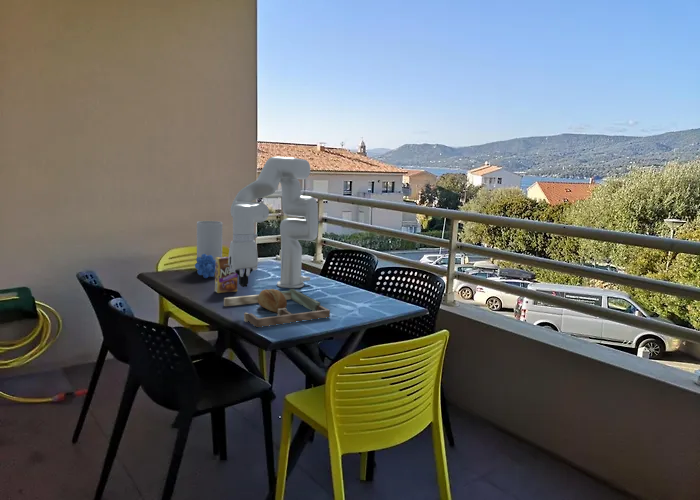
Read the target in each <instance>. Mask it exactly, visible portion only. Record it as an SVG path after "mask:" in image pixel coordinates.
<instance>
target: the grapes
mask: <svg viewBox="0 0 700 500" xmlns="http://www.w3.org/2000/svg"><path fill="white" fill-rule="evenodd" d="M195 260H196V263H194V267H195V269H196V272H197V275H199V276H203V278H204V279H208V278H209V277H211V278H212V277H213V278H214V277H215V266H216V260H213V256H212V255H208V256H207V255H206V254H202V256H201V257H198V258H197V257H196V259H195ZM197 262H198V263H197ZM197 269H198V270H197Z"/></svg>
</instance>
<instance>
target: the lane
mask: <svg viewBox="0 0 700 500" xmlns="http://www.w3.org/2000/svg"><path fill="white" fill-rule="evenodd" d="M279 291H280V290H279ZM280 292H281V293H282V294H283V295H284V296H285V298H286V301H287V300H288V301H289V300H292V301H293V302H295V303H296V304H298V305H300V306H302V305H303V306H302V307H305V308H306V309H308V310H309V311H311V310H312V311H317V305H321V302H320V301H318V300H316V299H314V298H313V297H310V296H308V295H306V294H304V293H302V292H300V291H299V290H296V289H295V288H289V290H283V291H282V290H281V291H280ZM258 297H259V294H251V295H240V296H228V297H224V298H223V306H224V307H231V306H232V307H233V306H242V305H243V306H244V305H252V304H259V303H258ZM283 309H285V310H287V311H288V308H287V307H286V308H280V309H278V313H277V316H280V315H282V310H283ZM312 311H311V312H312ZM249 314H250V313H249V312H244V313H243V321H244V322H245V323H249V322H248V316H249Z"/></svg>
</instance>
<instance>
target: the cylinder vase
mask: <svg viewBox="0 0 700 500" xmlns="http://www.w3.org/2000/svg"><path fill="white" fill-rule="evenodd" d="M202 254H206V255H207V256H208V255H212V256H213V260H216V257H223V222H222V221H215V220H203V221H202V220H200V221H196V259H197V258H198V257H201V256H202ZM196 263H198V262H197V261H196ZM196 271H198V269H196Z"/></svg>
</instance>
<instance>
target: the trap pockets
mask: <svg viewBox="0 0 700 500" xmlns="http://www.w3.org/2000/svg"><path fill="white" fill-rule="evenodd" d="M330 313H331V310H330V309H329V308H327V307H324V306H323V305H321V304H320V305H317V311H306V312H297V313H292V312H290V311H288V309H287V310H285V309H283V310H282V315H280V316H278V315H273V316H266V317H258V316H257V315H255V314H253V313H252V312H250V313H248V314H249V316H248V321H249V322H250V323H249V322H248V323H249V324H250V325H252V324H253V325H254V326H253V325H252V326H253V327H255V326H256V327H261V328H263V327H262V326H268V327H270V326H269V325H275V326H277V325H276V324H282V325H284V324H283V323H290V322H296V321H302V320H311V319H318V318H326V317H331V316H330V315H331V314H330ZM326 319H327V318H326ZM318 320H319V319H318ZM311 321H312V320H311ZM290 324H291V323H290ZM256 327H255V328H256Z"/></svg>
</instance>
